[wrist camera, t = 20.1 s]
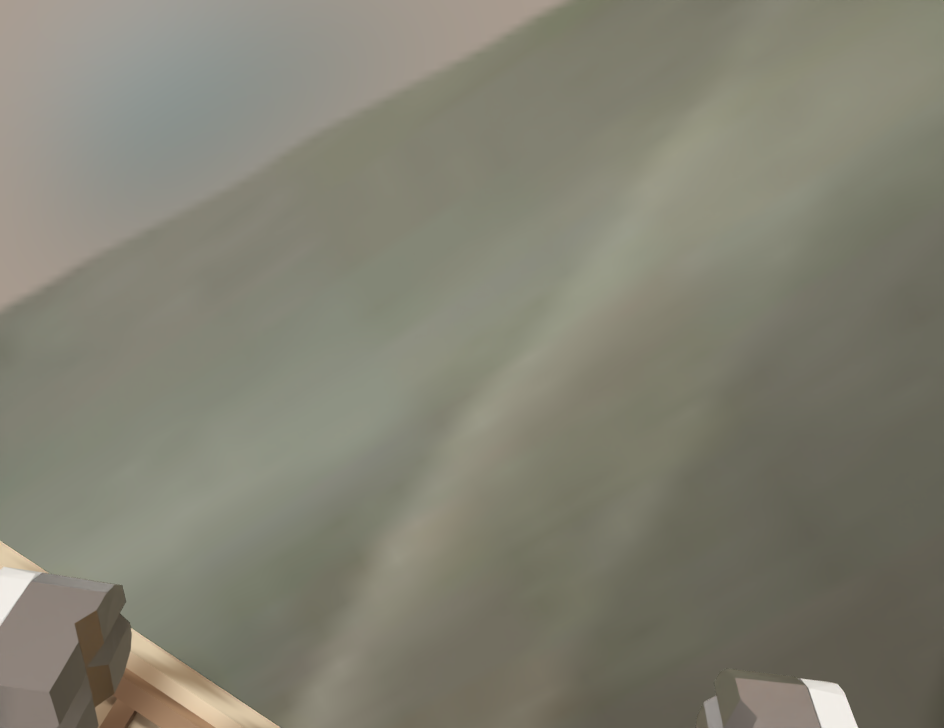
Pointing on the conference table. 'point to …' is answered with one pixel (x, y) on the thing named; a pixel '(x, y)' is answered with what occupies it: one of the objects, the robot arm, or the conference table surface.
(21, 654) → the robot arm
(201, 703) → the wooden compartment tray
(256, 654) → the conference table surface
